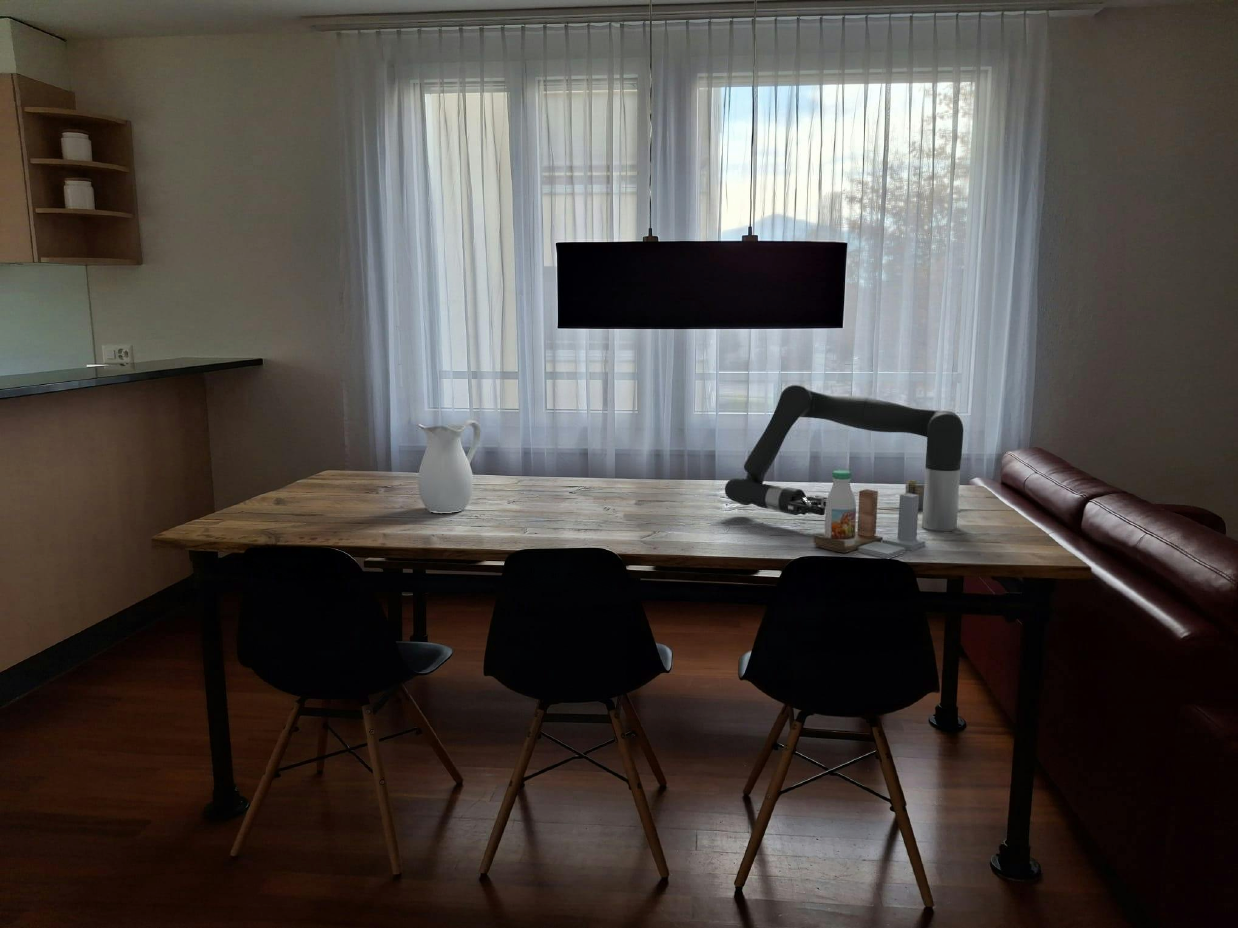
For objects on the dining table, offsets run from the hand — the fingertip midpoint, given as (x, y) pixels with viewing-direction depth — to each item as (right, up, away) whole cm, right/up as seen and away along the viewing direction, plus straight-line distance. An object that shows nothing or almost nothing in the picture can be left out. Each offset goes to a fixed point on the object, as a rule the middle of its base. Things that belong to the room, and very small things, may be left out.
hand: (833, 509), depth 229 cm
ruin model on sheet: (+38, -2, +37) cm, 53 cm away
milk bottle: (-1, -9, -9) cm, 13 cm away
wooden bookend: (+3, -9, -6) cm, 11 cm away
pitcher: (-110, -2, +38) cm, 117 cm away
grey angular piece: (+13, -10, -10) cm, 19 cm away
